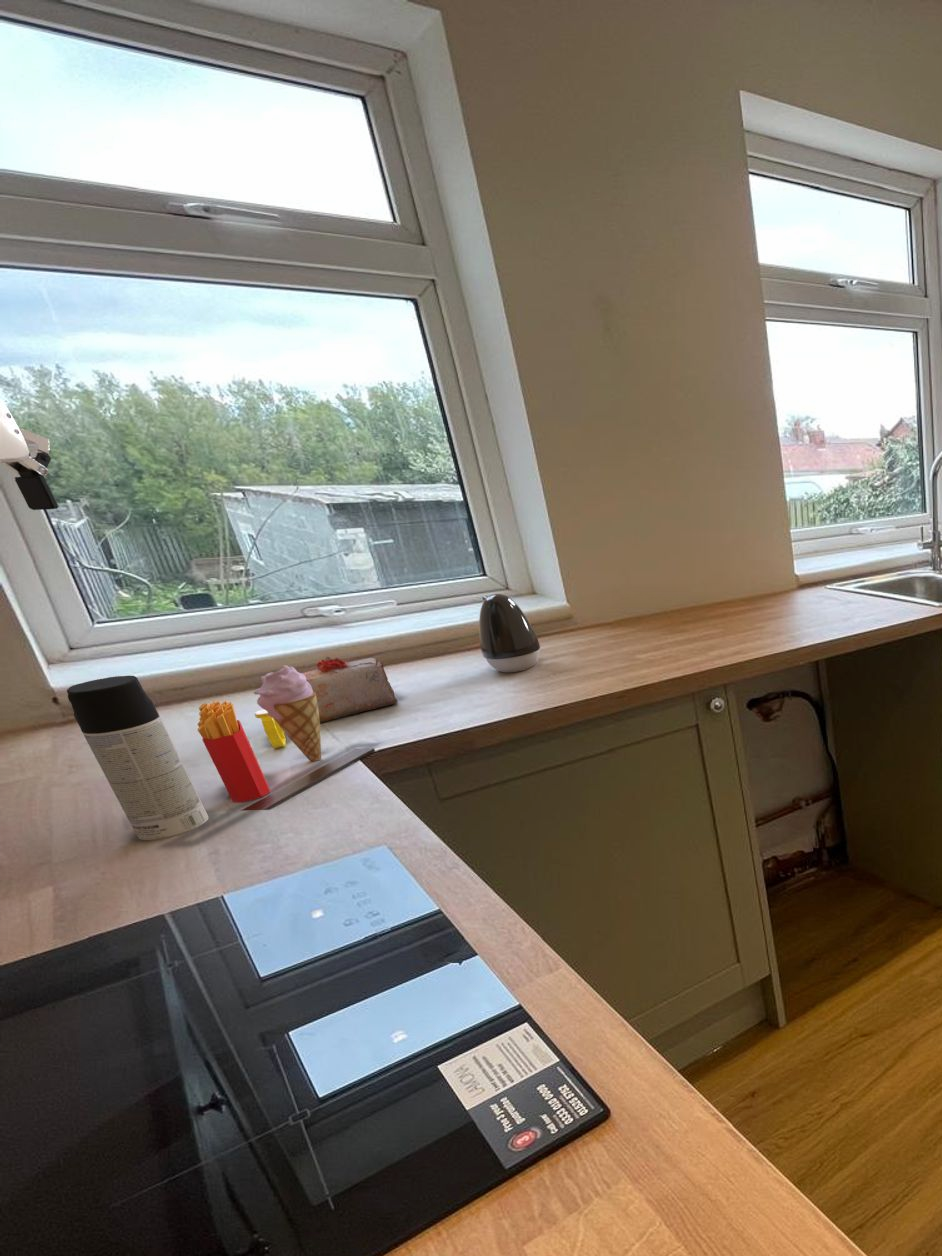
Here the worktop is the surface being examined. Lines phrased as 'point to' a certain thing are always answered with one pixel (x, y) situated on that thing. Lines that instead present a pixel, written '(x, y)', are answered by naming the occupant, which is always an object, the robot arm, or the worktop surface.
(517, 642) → the egg-shaped speaker
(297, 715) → the ice cream cone
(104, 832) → the worktop surface
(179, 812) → the spray can
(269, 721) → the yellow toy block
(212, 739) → the french fries
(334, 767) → the strip
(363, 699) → the food item
